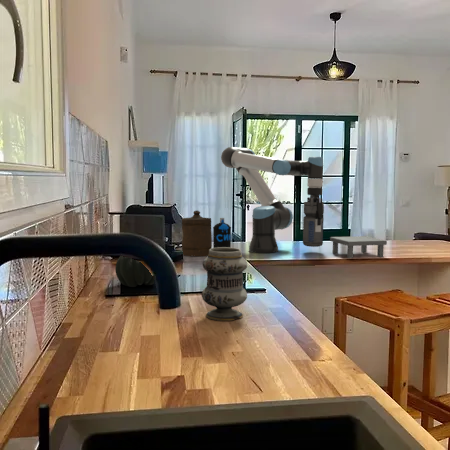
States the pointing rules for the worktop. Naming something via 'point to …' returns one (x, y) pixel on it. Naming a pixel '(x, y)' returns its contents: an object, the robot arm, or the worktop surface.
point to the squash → (132, 272)
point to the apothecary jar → (224, 283)
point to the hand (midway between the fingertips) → (313, 230)
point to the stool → (358, 244)
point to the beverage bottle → (311, 225)
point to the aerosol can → (221, 235)
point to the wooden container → (196, 235)
